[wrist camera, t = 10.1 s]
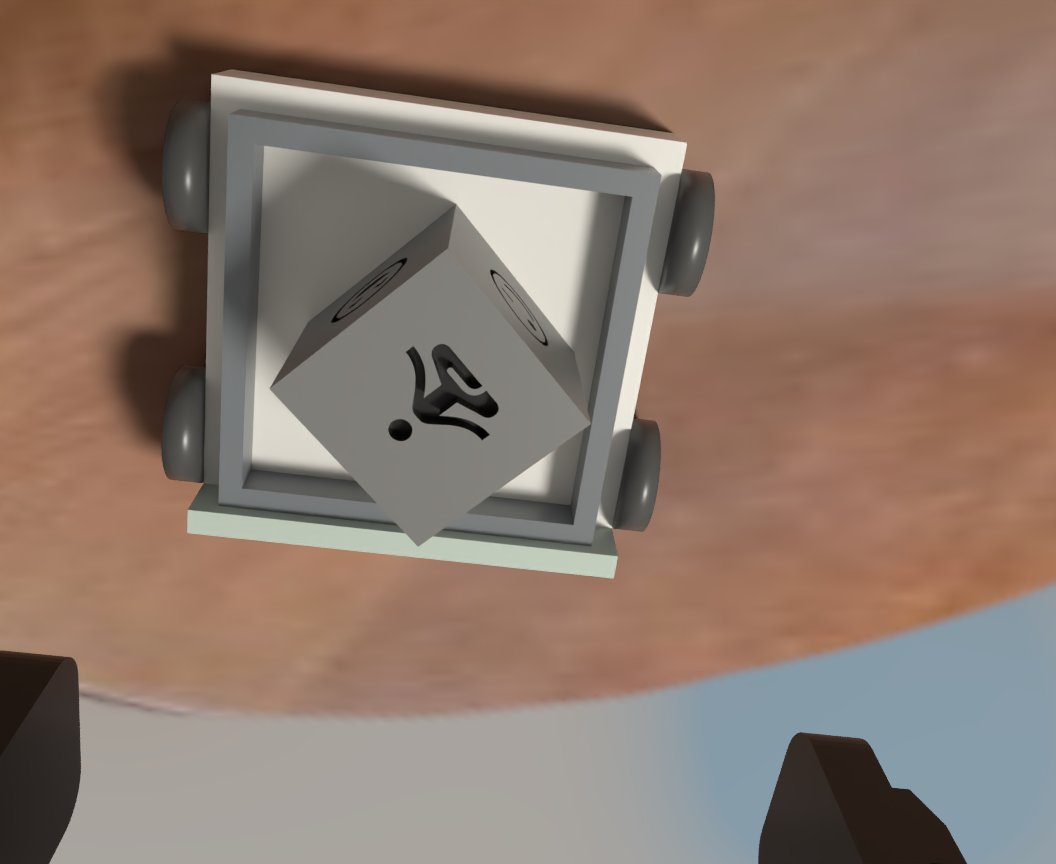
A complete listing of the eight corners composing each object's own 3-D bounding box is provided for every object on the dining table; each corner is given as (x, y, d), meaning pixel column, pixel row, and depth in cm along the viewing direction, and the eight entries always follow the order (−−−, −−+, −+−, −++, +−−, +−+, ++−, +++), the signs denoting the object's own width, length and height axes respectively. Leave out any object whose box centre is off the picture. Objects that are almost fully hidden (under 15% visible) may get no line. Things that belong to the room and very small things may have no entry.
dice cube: (574, 352, 27) (590, 424, 22) (430, 457, 28) (417, 546, 23) (456, 203, 25) (448, 248, 21) (308, 321, 26) (269, 389, 22)
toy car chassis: (199, 64, 26) (156, 73, 22) (703, 137, 27) (732, 156, 24) (193, 472, 30) (157, 529, 27) (626, 520, 31) (641, 581, 28)
